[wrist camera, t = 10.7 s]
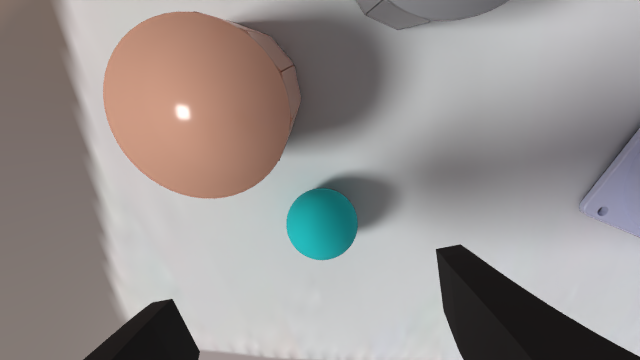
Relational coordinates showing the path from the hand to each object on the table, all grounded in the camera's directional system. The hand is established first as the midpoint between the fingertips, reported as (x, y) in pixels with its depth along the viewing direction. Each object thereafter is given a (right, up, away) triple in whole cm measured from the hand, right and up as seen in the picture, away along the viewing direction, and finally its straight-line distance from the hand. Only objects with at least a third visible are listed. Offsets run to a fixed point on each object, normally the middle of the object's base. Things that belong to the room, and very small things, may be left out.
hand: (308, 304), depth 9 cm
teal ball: (0, +2, +8) cm, 9 cm away
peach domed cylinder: (-4, +7, +6) cm, 10 cm away
